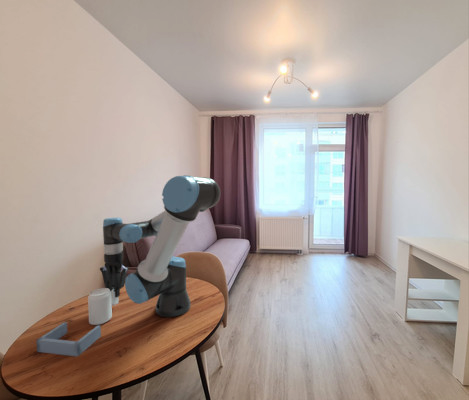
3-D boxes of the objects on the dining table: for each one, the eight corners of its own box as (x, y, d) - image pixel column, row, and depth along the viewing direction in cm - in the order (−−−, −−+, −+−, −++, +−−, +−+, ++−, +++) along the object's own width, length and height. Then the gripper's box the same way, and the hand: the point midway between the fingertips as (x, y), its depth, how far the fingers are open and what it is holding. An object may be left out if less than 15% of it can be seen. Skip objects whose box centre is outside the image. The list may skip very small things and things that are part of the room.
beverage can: (101, 327, 85) (100, 297, 85) (83, 325, 87) (82, 295, 87) (116, 315, 93) (115, 288, 93) (100, 313, 95) (99, 286, 95)
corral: (100, 336, 80) (100, 325, 80) (77, 356, 70) (77, 344, 70) (64, 332, 83) (64, 322, 82) (36, 351, 73) (36, 339, 73)
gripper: (132, 250, 101) (133, 300, 102) (106, 249, 103) (108, 298, 104) (121, 255, 93) (122, 309, 94) (94, 254, 95) (96, 306, 96)
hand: (115, 303), depth 99 cm, fingers closed
